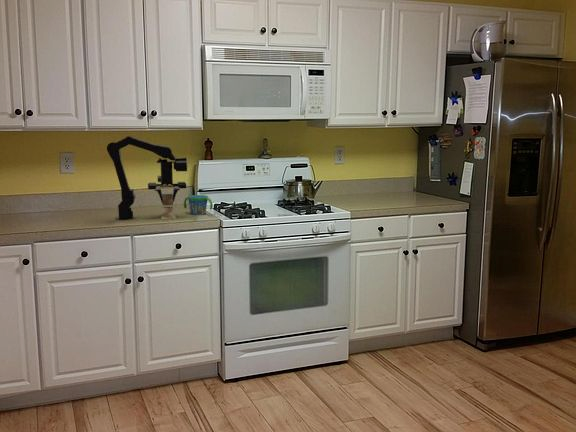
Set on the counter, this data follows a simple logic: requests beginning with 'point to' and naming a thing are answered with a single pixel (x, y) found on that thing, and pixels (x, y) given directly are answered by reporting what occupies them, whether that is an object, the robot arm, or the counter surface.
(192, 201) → the snack cup
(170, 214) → the birch block
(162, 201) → the robot arm
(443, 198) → the counter surface
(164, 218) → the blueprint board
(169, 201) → the walnut block
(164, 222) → the counter surface
